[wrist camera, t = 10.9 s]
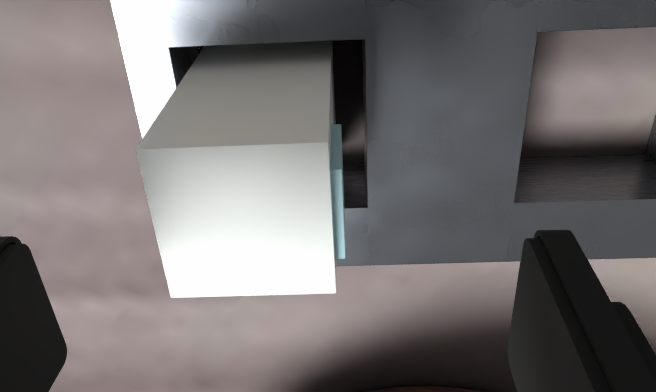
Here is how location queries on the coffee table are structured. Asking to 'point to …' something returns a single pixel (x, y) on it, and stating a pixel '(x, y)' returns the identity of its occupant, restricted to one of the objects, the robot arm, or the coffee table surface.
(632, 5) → the panel
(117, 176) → the coffee table surface
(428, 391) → the wooden bowl
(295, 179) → the plug
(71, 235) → the coffee table surface
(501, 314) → the coffee table surface
